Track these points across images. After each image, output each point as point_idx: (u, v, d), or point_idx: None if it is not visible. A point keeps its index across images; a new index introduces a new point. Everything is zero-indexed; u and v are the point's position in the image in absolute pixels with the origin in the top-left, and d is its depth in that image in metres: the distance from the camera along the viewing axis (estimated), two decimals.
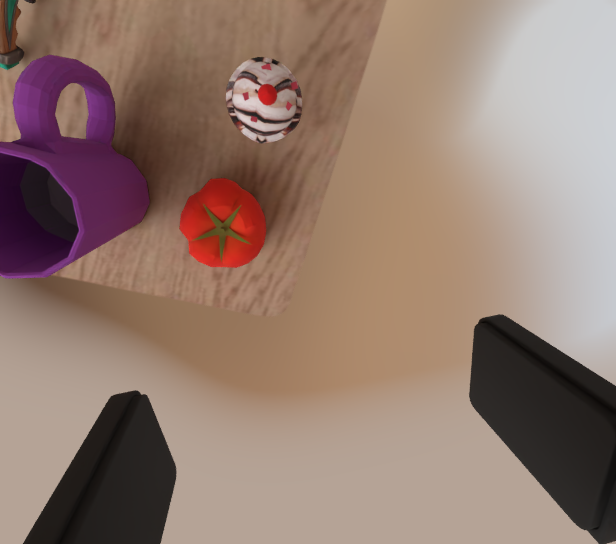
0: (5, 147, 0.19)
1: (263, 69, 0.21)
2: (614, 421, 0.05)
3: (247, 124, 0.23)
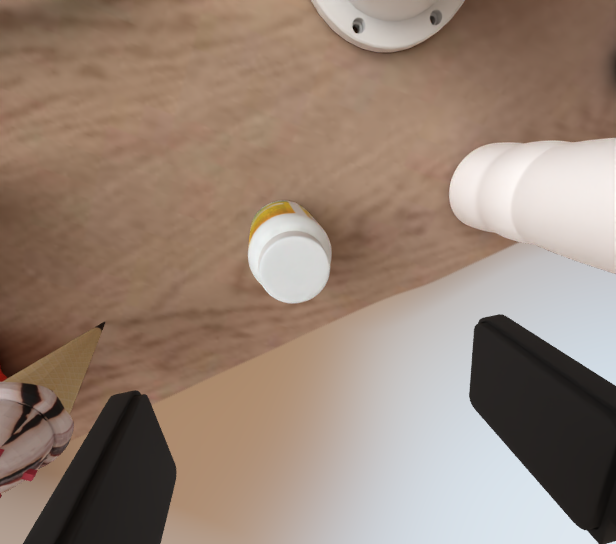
0: None
1: None
2: (614, 421, 0.05)
3: None
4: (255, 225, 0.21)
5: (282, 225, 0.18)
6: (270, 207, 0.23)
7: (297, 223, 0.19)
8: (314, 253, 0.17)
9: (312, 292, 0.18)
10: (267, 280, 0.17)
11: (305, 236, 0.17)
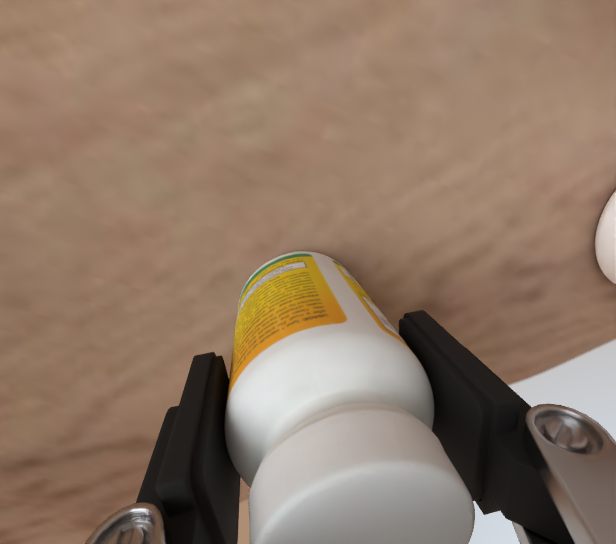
0: None
1: None
2: (479, 401, 0.06)
3: None
4: (245, 331, 0.09)
5: (318, 371, 0.06)
6: (278, 275, 0.11)
7: (359, 364, 0.07)
8: (436, 504, 0.05)
9: None
10: None
11: (409, 453, 0.05)
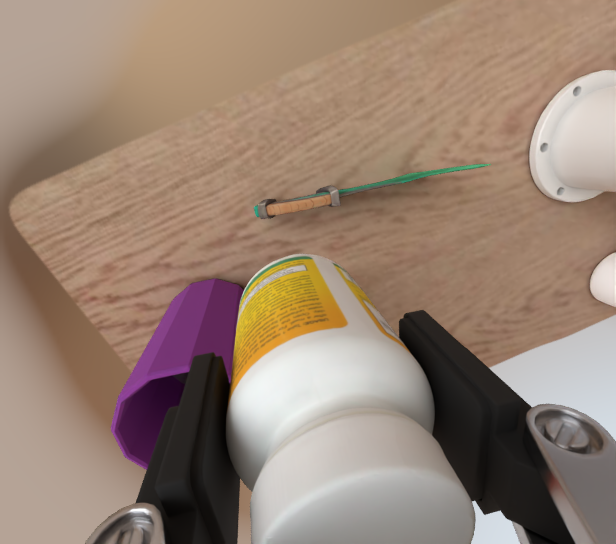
0: None
1: None
2: (479, 401, 0.06)
3: None
4: (246, 334, 0.09)
5: (319, 375, 0.07)
6: (279, 278, 0.11)
7: (360, 369, 0.07)
8: (436, 509, 0.05)
9: None
10: None
11: (409, 459, 0.05)
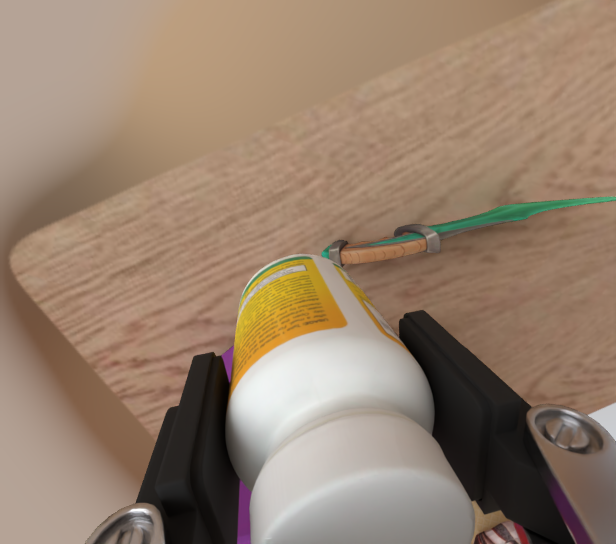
0: None
1: None
2: (479, 401, 0.06)
3: None
4: (246, 334, 0.09)
5: (319, 375, 0.07)
6: (279, 279, 0.11)
7: (360, 368, 0.07)
8: (437, 510, 0.05)
9: None
10: None
11: (409, 459, 0.05)
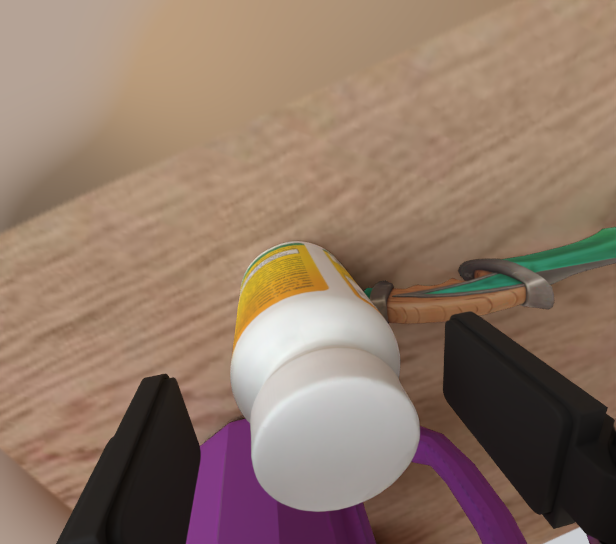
0: None
1: None
2: (559, 410, 0.06)
3: None
4: (247, 302, 0.11)
5: (304, 324, 0.08)
6: (275, 260, 0.13)
7: (336, 319, 0.08)
8: (388, 412, 0.07)
9: (375, 487, 0.08)
10: (272, 475, 0.07)
11: (367, 373, 0.07)
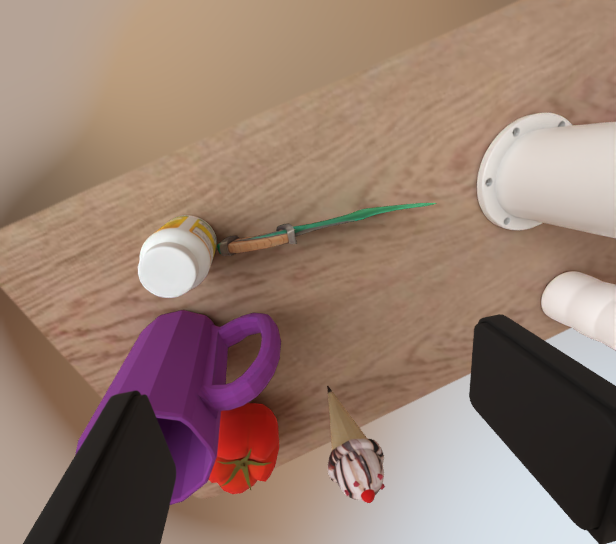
0: (202, 433, 0.22)
1: (377, 478, 0.28)
2: (614, 421, 0.05)
3: (338, 481, 0.29)
4: None
5: (162, 237, 0.24)
6: (169, 221, 0.28)
7: (174, 236, 0.24)
8: (181, 259, 0.23)
9: (183, 289, 0.23)
10: (145, 280, 0.23)
11: (173, 246, 0.22)
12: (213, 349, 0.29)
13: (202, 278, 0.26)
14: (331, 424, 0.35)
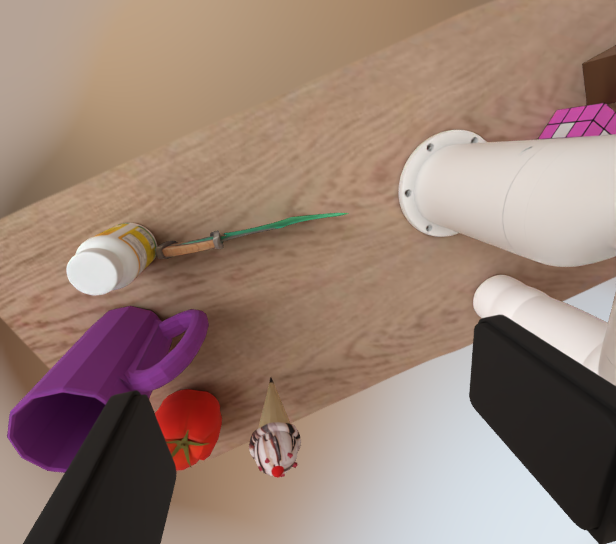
0: None
1: (287, 456, 0.32)
2: (614, 421, 0.05)
3: (255, 458, 0.33)
4: None
5: (92, 243, 0.28)
6: None
7: (103, 242, 0.28)
8: (103, 263, 0.27)
9: (107, 288, 0.27)
10: (73, 279, 0.27)
11: (96, 252, 0.26)
12: (148, 340, 0.33)
13: (130, 278, 0.30)
14: None
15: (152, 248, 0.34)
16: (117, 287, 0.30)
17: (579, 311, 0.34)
